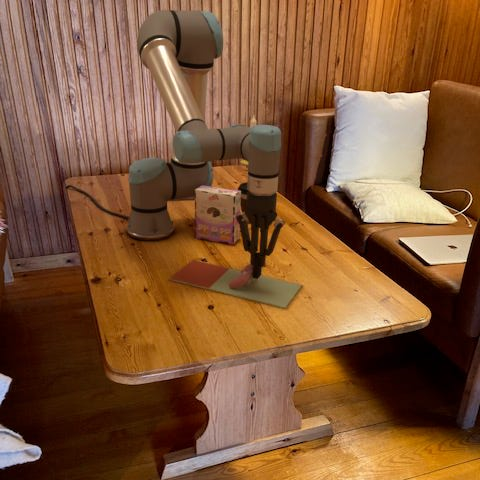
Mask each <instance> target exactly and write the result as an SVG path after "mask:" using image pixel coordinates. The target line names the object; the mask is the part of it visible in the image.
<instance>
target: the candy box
mask: <svg viewBox="0 0 480 480" xmlns="http://www.w3.org/2000/svg"><path fill="white" fill-rule="evenodd" d="M240 213H241V191H238V189H237V190H236V189H230V188H223V187H217V186H204V185H201V186H200V187H198V188H197V189H195V199H194V238H195V239H199V240H205V241H210V242H215V243H221V244H227V245H231V246H234V245H235V244H236V243H237V242H238V241H239V240H240V232H241V231H240V225H239V223H238V221H237V219H236V216H238V215H239V214H240Z"/></svg>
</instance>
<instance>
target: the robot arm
mask: <svg viewBox="0 0 480 480" xmlns="http://www.w3.org/2000/svg"><path fill="white" fill-rule="evenodd" d="M136 47H137V53H138V56H139V59H140V61H141V63H142V65H143V67H145V68H146V70H147V69H148V70H149V72H150V74H151V77H152V79H153V82H154V84H155V86H156V88H157V90H158V93H159V95H160V97H161V100H162V102H163V104H164V107H165V110H166V112H167V114H168V116H169V118H170V121H171V123H172V125H173V127H174V130H175V134H174V135H173V137H172V149H173V151H172V153H171V154H170V162H166V159H164V158H161V157H145V158H141V159H138V160H136V161H134V162H133V163H131V164H130V165H129V167H128V184H129V185H128V186H129V198H130V212H129V216H128V215H124V214H121V213H118V212H113V211H111V210H108V209H107V208H105V207H103V206H101V205H100V204H99V202H98V201H96V199H95V198H94V197H93V196H92V195H91V194H90V193H88V192H86V191H84V190H83V189H80V188H77V187H76V186H74V185H72V184H67V185H66V186H65V189H68V188H72V189H74V190H76V191H78V192H80V193H82V194H83V195H85V196H87V197H88V198H89V199H91V201H92V202H93V203H94V204H95V205H96V206H97V207H98V208H99V209H101V210H102V211H104V212H106V213H108V214H111V215H114V216H117V217H120V218H124V219H128V220H127V223H126V234H127V235H128V236H129V237H130V238H131V239H134V240H139V241H149V242H151V241H160V240H161V241H162V240H165V239H167V238H169V237H171V236H172V235H173V234H174V220H172V219H171V216H170V213H169V210H168V201H174V199H175V200H176V199H177V200H178V199H179V200H180V199H181V198H189V197H195V189H197V188H198V187H200V186H201V185H204V186H211V187H213V182H214V172H213V170H214V167H213V165H212V162H217V161H230V160H243V159H244V160H246V161H248V166H247V174H248V184H247V189H248V192H247V207H246V209H245V212H244V213H242V212H240V214H239V215H238V216H236V219H237V221H238V223H239V225H240V231H239V232H240V235H241V241H242V246H243V250H244V252H245V253H246V252H247V253H249V254H250V258H249V259H250V261H249V264H251V265H253V278H255V279H258V278H259V277H260V276H262V272H263V271H262V270H263V268H264V267H265V265H266V260H267V258H266V257H269V256H271V255H272V254H273V252H274V250H275V247H276V244H277V241H278V238H279V235H280V233H281V231H282V228H283V227H284V226H285V225H286V221H285V220H281V219H280V218H279V217H278V213H277V203H278V202H277V201H278V200H277V199H278V193H277V192H278V187H279V185H278V184H279V172H280V162H281V161H280V160H281V153H282V152H281V150H282V131H281V129H280V128H279V127H278V126H276V125H269V124H256V125H255V126H253V127H251V128H250V126H248V125H247V124H241V123H233V124H231V125H230V126H228V127H223V128H208V126H207V124H206V112H207V111H206V110H207V109H206V108H207V93H208V92H207V91H208V77H209V72H210V71H211V70H213V68H214V66H215V60H217V59H218V58H220V57H221V56H222V53H223V51H224V35H223V29H222V26H221V23H220V21H219V18H217V16H216V15H215V14H214V13H213V12H211V11H205V10H199V9H195V10H194V9H193V10H190V9H186V10H185V9H184V10H183V9H182V10H181V9H179V10H178V9H177V10H175V9H172V10H170V9H160V10H156V11H154V12H152V13H150V14H149V15H148V16H147V17H146V18H145V19H144V20H143V22H142V23H141V26H140V27H139V30H138V33H137V39H136ZM247 219H248V220H249V223H248V221H247ZM248 224H250V229H249V225H248ZM272 224H273V227H274V228H273V231H272V234H271V236H270V239H269V238H268V237H269V230H270V226H271V225H272ZM259 233H260V234H259ZM259 235H260V236H259ZM268 240H269V242H268Z"/></svg>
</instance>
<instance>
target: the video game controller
mask: <svg viewBox="0 0 480 480" xmlns="http://www.w3.org/2000/svg"><path fill="white" fill-rule="evenodd" d="M240 271H241V274H240V275H239V276H238V277H237V278H235V279H234V280H232V281H230V283H229V287H230V288H232V289H236V288H239V287H241V286H243V287H244V286H245V285H246V284H247V283H248V282H249V283H250V282H251V280H252V277H253V265H251V264H250V263H249V264H247V265H245V266H244V267H243V268H242V269H241V270H240Z"/></svg>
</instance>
